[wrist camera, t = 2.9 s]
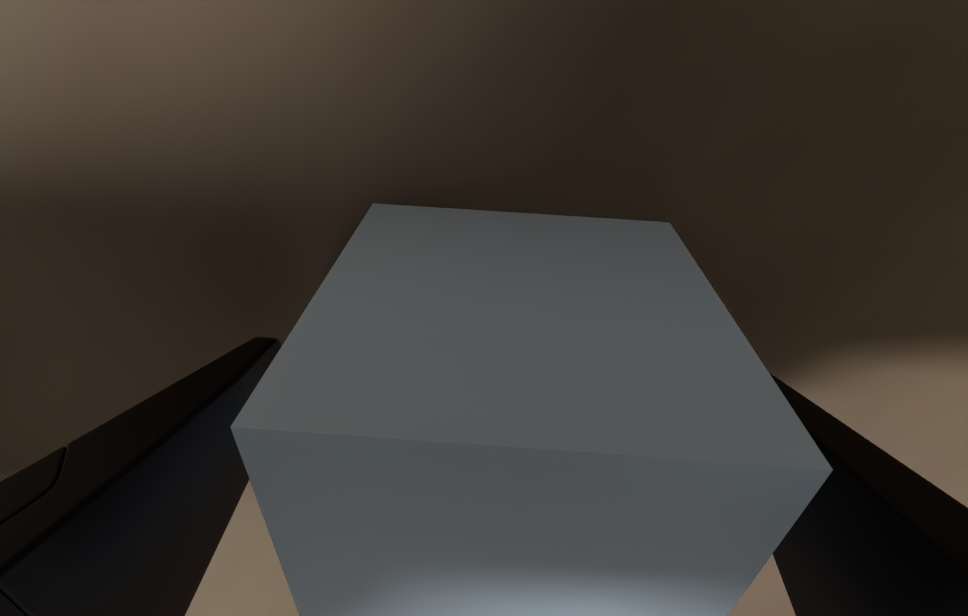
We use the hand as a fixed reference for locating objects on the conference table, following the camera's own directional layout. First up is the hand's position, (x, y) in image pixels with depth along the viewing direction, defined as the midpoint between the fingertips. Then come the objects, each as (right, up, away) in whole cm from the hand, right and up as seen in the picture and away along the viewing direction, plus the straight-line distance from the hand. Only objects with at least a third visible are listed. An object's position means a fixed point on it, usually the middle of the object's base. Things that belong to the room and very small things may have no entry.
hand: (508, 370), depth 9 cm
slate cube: (0, +1, +1) cm, 1 cm away
